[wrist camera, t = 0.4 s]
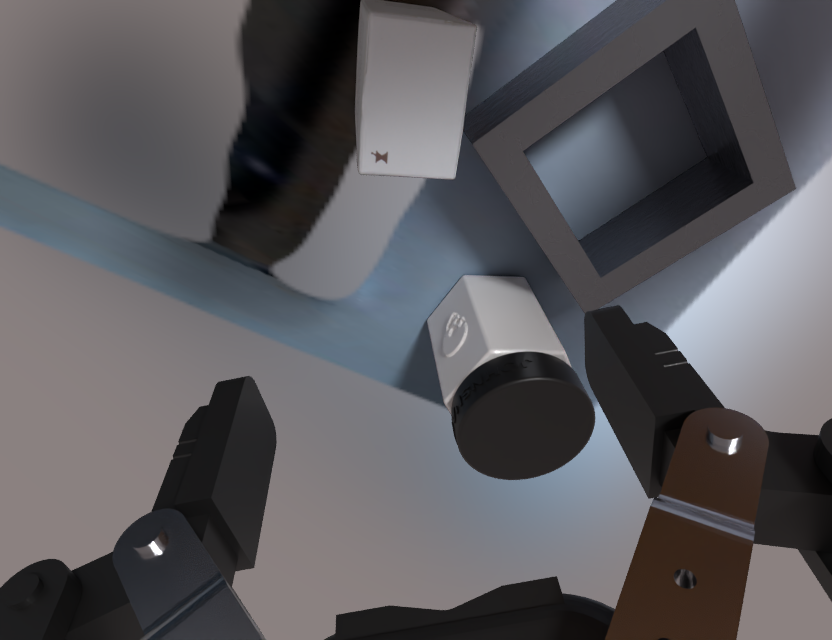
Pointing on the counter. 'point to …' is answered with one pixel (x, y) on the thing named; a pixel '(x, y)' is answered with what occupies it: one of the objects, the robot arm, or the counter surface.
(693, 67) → the socket block
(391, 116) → the skincare box
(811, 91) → the counter surface
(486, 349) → the jar
